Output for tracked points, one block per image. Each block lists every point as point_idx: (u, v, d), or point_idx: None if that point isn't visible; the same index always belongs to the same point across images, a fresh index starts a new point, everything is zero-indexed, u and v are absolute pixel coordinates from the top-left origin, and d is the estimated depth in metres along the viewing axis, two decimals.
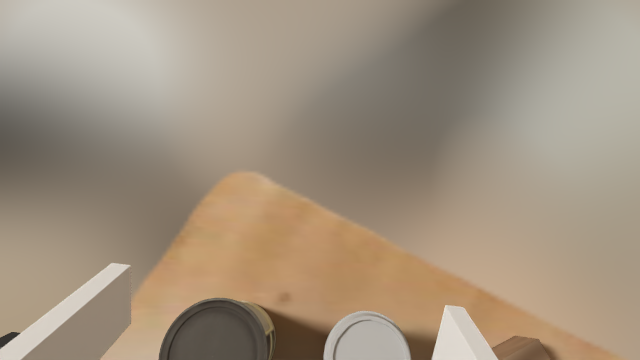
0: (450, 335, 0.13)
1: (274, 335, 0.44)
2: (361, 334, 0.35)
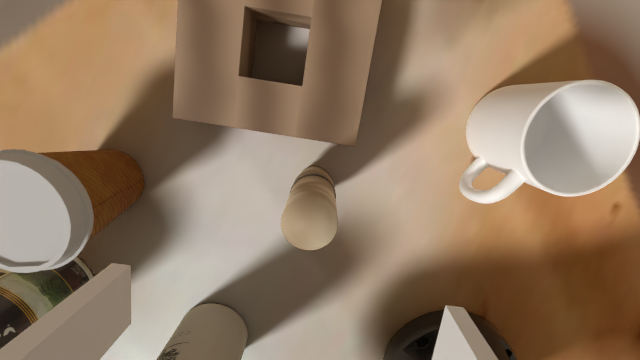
0: (450, 335, 0.13)
1: None
2: None
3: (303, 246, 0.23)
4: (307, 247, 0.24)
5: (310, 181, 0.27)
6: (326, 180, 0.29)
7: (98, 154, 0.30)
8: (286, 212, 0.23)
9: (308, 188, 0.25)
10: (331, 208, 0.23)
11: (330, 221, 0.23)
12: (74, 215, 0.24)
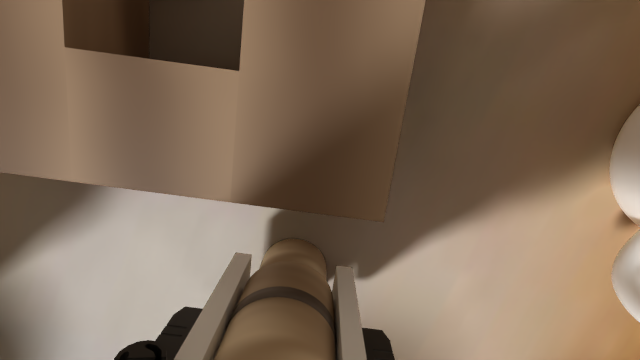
0: (334, 289, 0.15)
1: None
2: None
3: None
4: None
5: (263, 340, 0.09)
6: (312, 309, 0.11)
7: None
8: None
9: None
10: None
11: None
12: None
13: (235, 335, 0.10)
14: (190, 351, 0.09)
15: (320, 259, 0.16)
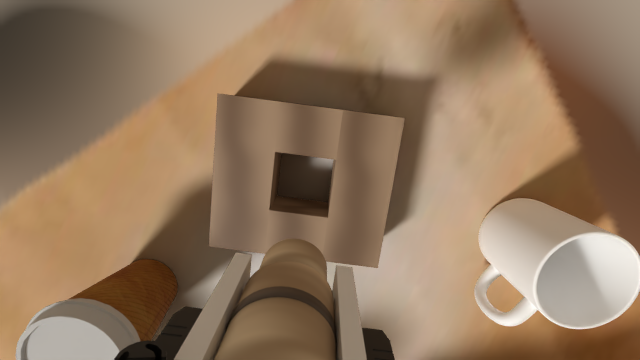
0: (334, 289, 0.15)
1: None
2: (41, 354, 0.26)
3: None
4: None
5: (263, 340, 0.09)
6: (312, 309, 0.11)
7: (139, 275, 0.33)
8: None
9: None
10: None
11: None
12: None
13: (235, 335, 0.10)
14: (190, 351, 0.09)
15: (320, 259, 0.16)
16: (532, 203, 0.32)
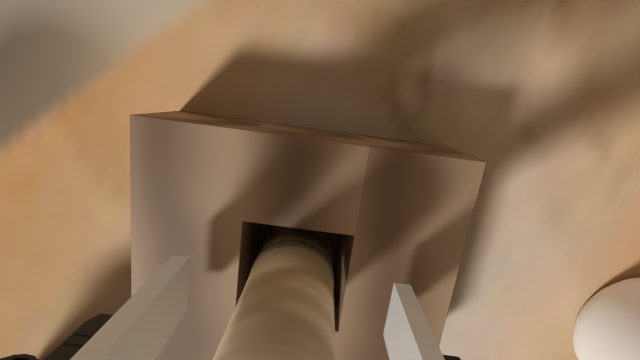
0: (395, 309, 0.14)
1: None
2: None
3: None
4: None
5: (281, 268, 0.13)
6: (315, 255, 0.15)
7: None
8: None
9: (271, 299, 0.11)
10: None
11: None
12: None
13: (260, 268, 0.14)
14: None
15: None
16: None
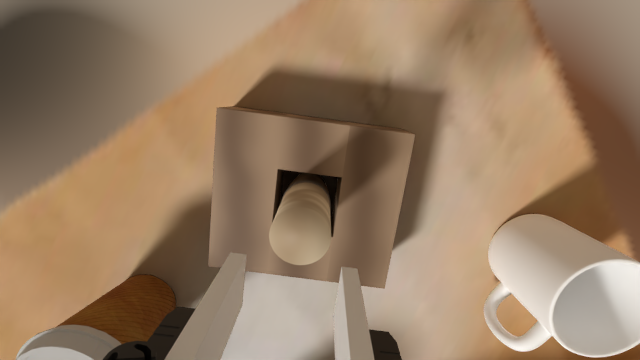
0: (340, 290, 0.15)
1: None
2: None
3: (294, 261, 0.22)
4: (298, 262, 0.22)
5: (302, 189, 0.25)
6: (320, 187, 0.27)
7: (135, 294, 0.32)
8: (274, 225, 0.21)
9: (299, 197, 0.23)
10: (323, 219, 0.21)
11: (322, 233, 0.21)
12: None
13: (290, 191, 0.26)
14: (181, 351, 0.09)
15: (323, 180, 0.32)
16: (546, 221, 0.31)
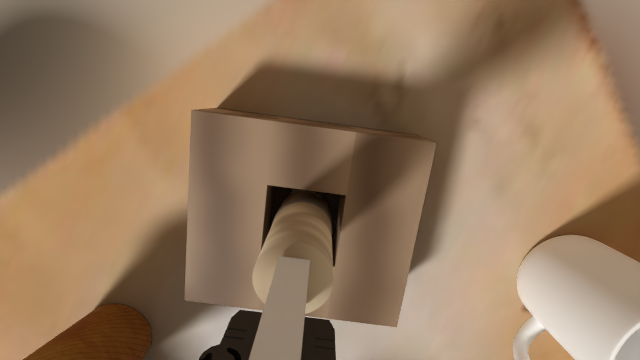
0: None
1: None
2: None
3: None
4: None
5: (296, 212, 0.20)
6: (319, 207, 0.22)
7: (100, 331, 0.27)
8: (259, 265, 0.16)
9: (292, 225, 0.18)
10: (323, 258, 0.16)
11: (322, 276, 0.16)
12: None
13: (282, 214, 0.21)
14: (261, 354, 0.10)
15: (323, 196, 0.27)
16: (589, 245, 0.26)
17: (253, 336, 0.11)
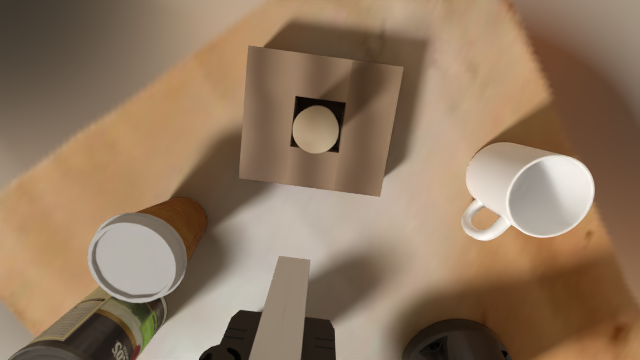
0: None
1: None
2: (108, 256, 0.32)
3: (311, 150, 0.29)
4: (314, 151, 0.29)
5: None
6: (328, 109, 0.34)
7: (178, 205, 0.39)
8: (296, 121, 0.28)
9: (314, 106, 0.30)
10: (333, 116, 0.28)
11: (332, 127, 0.28)
12: (178, 260, 0.32)
13: None
14: (261, 354, 0.10)
15: None
16: (510, 144, 0.38)
17: (253, 336, 0.11)
